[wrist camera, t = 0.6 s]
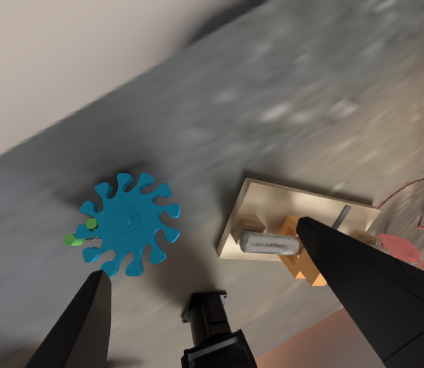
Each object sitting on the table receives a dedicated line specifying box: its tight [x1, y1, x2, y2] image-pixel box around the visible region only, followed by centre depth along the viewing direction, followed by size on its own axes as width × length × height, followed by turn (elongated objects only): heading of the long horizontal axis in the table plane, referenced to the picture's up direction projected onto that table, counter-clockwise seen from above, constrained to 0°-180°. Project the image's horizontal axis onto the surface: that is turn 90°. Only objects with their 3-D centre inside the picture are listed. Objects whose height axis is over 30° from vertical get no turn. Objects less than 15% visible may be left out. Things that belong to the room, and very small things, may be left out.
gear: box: [64, 172, 180, 277], centre depth 21 cm, size 11×6×10 cm
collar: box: [277, 216, 327, 286], centre depth 25 cm, size 5×2×7 cm, turn 161°
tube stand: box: [216, 177, 389, 261], centre depth 29 cm, size 12×26×6 cm, turn 71°
